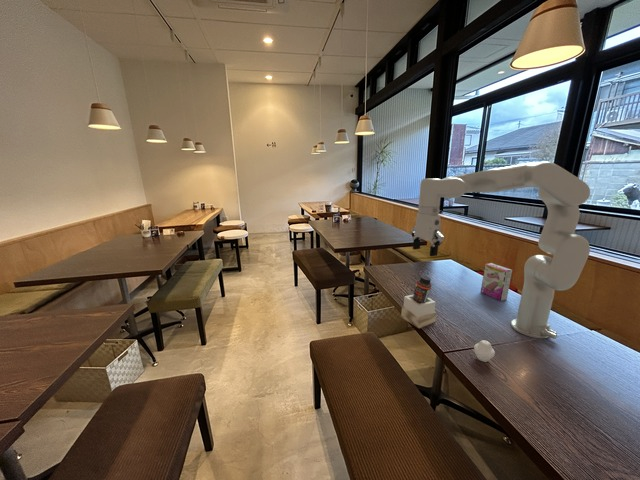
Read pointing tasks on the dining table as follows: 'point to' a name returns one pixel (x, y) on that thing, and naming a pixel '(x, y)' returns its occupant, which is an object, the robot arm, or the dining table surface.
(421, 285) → the supplement bottle
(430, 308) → the tower top
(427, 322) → the tower base
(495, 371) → the dining table surface
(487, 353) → the white cupcake
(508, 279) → the candy bar box
